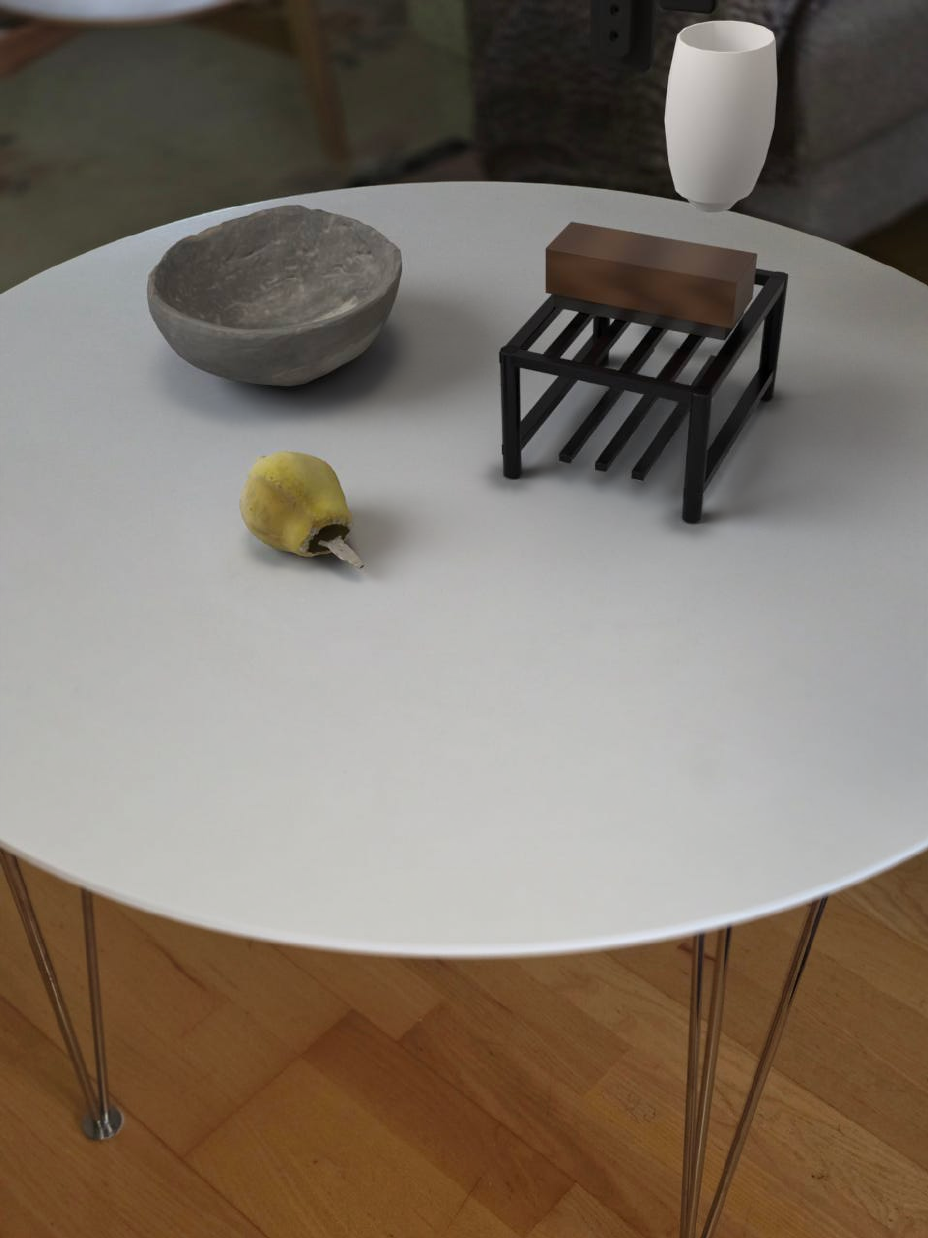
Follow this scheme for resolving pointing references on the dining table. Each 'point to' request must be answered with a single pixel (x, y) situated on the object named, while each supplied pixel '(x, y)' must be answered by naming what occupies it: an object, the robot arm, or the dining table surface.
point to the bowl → (275, 294)
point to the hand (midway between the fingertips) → (656, 37)
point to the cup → (720, 111)
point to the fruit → (297, 506)
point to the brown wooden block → (650, 279)
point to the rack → (642, 388)
